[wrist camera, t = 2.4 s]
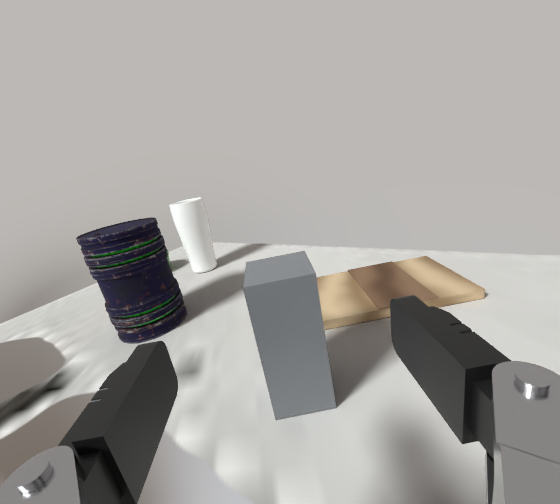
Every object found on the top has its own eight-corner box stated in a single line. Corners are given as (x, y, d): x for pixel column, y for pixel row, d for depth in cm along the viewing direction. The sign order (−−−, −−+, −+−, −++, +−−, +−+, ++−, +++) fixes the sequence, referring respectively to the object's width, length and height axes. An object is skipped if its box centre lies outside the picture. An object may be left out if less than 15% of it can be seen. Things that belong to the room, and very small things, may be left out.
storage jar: (161, 302, 48) (131, 219, 44) (201, 309, 43) (171, 215, 38) (104, 336, 40) (60, 239, 36) (144, 350, 35) (98, 239, 31)
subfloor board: (426, 262, 44) (426, 254, 44) (484, 298, 33) (484, 287, 32) (271, 293, 44) (269, 285, 43) (275, 339, 32) (272, 329, 32)
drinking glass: (216, 260, 65) (199, 196, 60) (224, 268, 59) (205, 198, 54) (187, 269, 63) (167, 203, 58) (192, 278, 57) (170, 206, 52)
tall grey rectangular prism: (322, 363, 27) (304, 250, 24) (336, 407, 22) (315, 273, 19) (273, 373, 27) (246, 261, 24) (275, 420, 22) (242, 287, 19)
